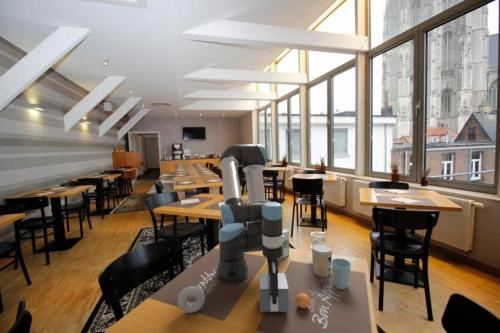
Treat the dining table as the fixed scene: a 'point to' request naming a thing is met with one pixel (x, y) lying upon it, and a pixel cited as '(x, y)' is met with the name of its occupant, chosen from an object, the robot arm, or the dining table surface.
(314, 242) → the white hollow stepped cylinder
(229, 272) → the robot arm
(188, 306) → the grey ring
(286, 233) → the syrup box
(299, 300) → the ball
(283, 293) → the slate blue cube
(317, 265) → the coffee cup
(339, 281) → the cup
